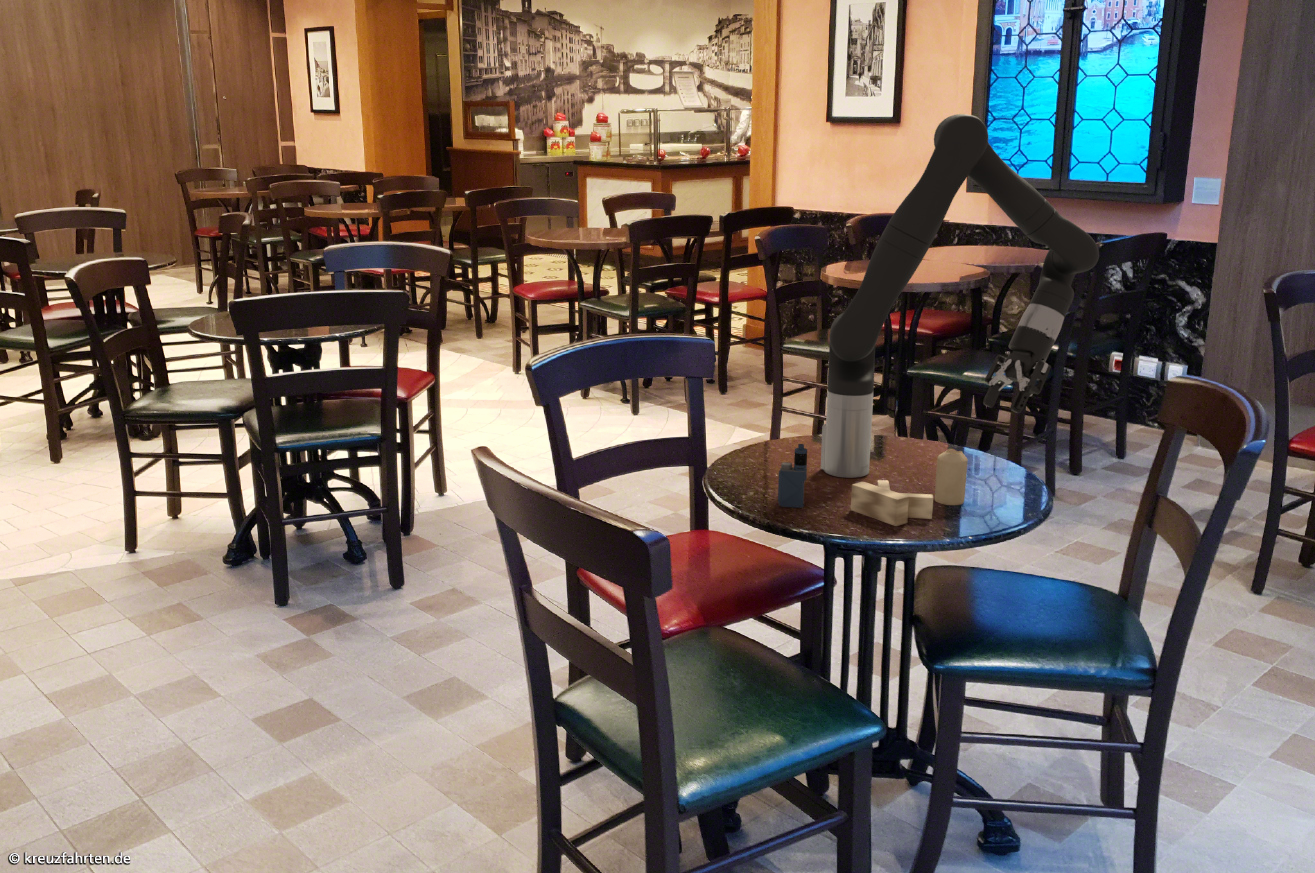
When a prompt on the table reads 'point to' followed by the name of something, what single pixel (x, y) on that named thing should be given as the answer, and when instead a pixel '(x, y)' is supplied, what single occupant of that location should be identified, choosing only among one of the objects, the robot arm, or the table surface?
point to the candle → (951, 477)
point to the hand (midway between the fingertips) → (1000, 408)
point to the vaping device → (793, 480)
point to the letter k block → (889, 503)
